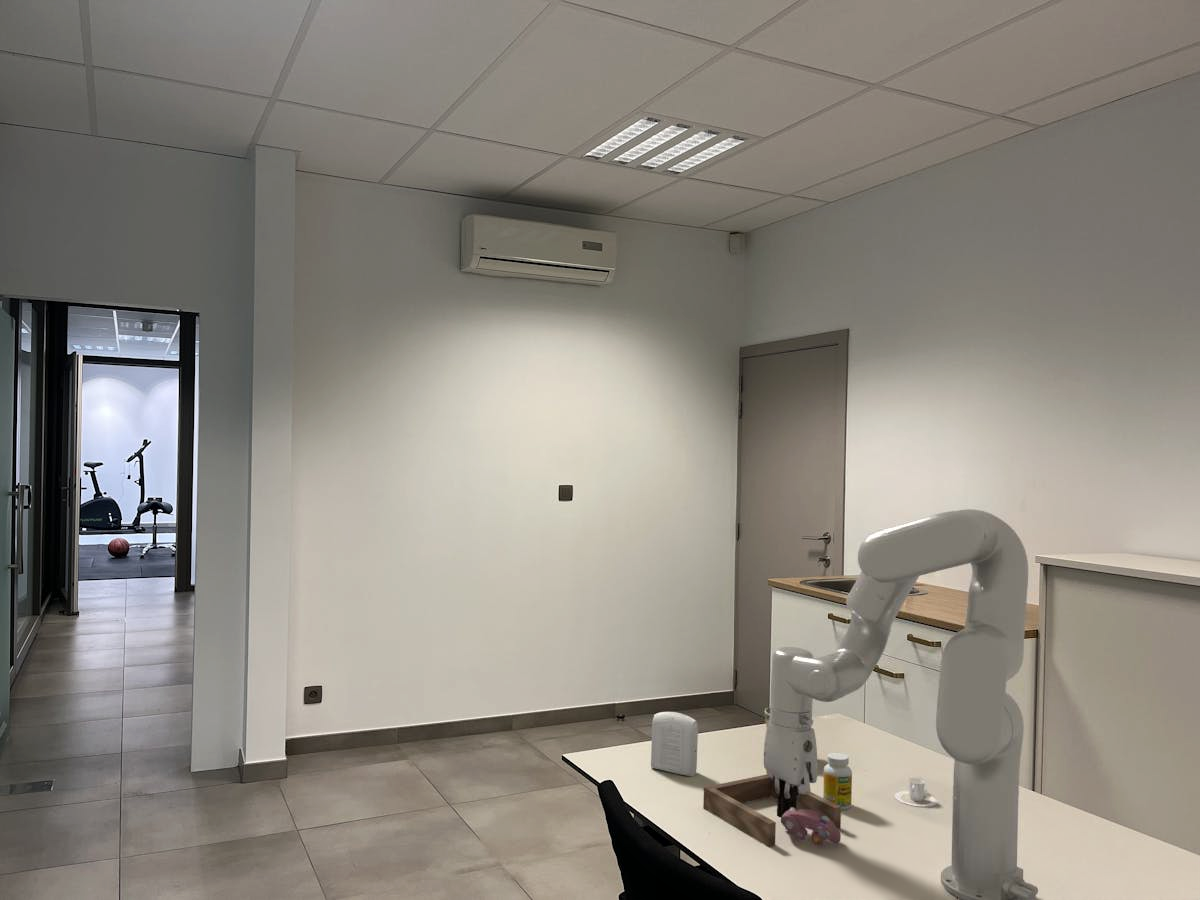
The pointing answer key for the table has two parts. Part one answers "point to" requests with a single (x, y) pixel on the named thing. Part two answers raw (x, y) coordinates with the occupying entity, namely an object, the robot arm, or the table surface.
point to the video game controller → (810, 825)
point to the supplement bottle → (838, 780)
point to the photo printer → (674, 743)
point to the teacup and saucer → (916, 793)
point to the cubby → (730, 808)
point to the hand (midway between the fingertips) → (786, 816)
